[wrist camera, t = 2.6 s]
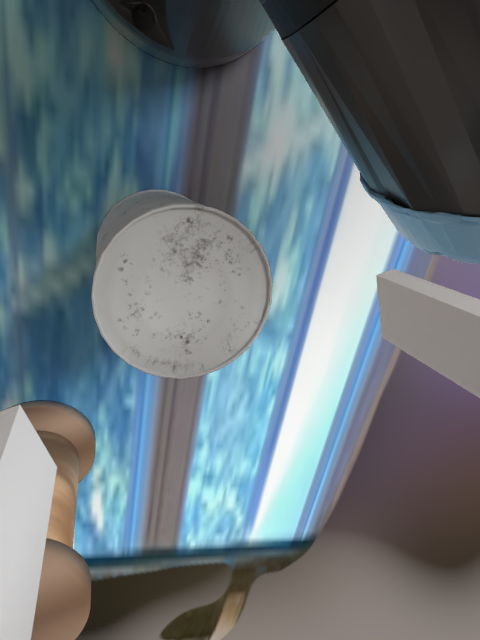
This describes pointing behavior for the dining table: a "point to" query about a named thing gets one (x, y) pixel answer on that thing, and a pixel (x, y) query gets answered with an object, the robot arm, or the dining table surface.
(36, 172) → the dining table surface
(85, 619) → the bobbin
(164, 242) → the white scuffed cylinder
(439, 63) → the robot arm
